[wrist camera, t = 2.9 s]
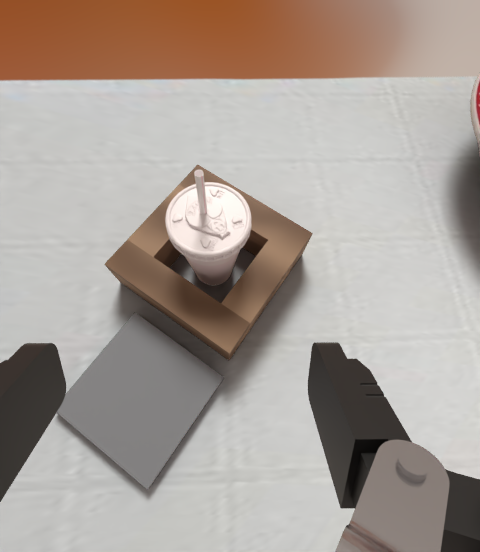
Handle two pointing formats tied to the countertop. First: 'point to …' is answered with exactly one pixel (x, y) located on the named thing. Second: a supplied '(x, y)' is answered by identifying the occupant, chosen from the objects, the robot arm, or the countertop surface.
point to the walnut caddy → (193, 301)
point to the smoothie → (209, 227)
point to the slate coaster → (140, 398)
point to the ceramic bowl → (476, 110)
